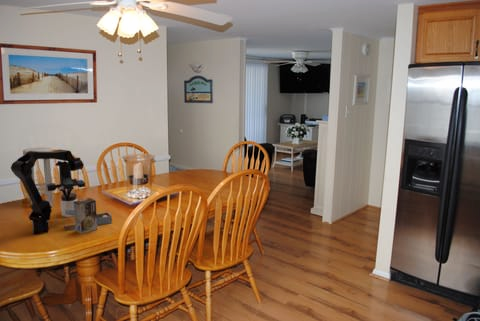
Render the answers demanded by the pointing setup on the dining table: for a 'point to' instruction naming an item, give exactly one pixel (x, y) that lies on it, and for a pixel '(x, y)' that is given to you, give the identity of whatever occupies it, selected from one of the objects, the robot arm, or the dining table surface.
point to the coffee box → (85, 215)
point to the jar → (68, 204)
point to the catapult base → (70, 227)
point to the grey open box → (103, 219)
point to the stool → (46, 171)
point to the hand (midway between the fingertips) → (67, 200)
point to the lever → (70, 212)
